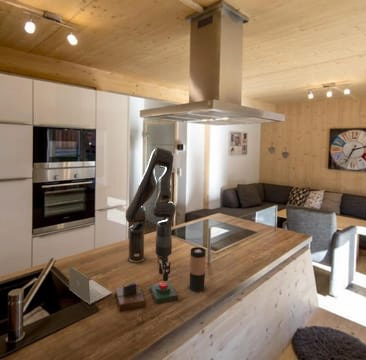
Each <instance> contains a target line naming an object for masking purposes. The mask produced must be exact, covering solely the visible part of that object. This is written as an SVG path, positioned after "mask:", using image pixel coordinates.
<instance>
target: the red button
mask: <svg viewBox="0 0 366 360" xmlns="http://www.w3.org/2000/svg"><path fill="white" fill-rule="evenodd" d="M167 283H168V282H166V281H161V282H160V283H159V284H160V289H166V288H167Z"/></svg>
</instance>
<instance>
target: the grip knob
mask: <svg viewBox="0 0 366 360" xmlns="http://www.w3.org/2000/svg"><path fill="white" fill-rule="evenodd" d="M137 285H138V284H137V283H136V282H131V283H128V284H124V285H122V287H123V295H124V297H125V296H128V295H131V294H135V293H137Z"/></svg>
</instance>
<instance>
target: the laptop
mask: <svg viewBox="0 0 366 360" xmlns="http://www.w3.org/2000/svg"><path fill="white" fill-rule="evenodd" d="M68 287H69V288H68V289H69V291H70V292H72V293H73V294H75V295H76V296H77V297H79V298H80V299H81V300H83V302H85V303H87V304H88V305H92V304H95V303H96V302H98V301H100V300H102V299H104V298H106V297H108V296H110V295H112V294H113V292H112V291H111V290H109V289H107V288H105V286H103V285H101V284H99V283H98V282H96V281H95V280H93V279H90V277H88V276H87V275H86V274H83V273H82V272H81V271H79V270H77V269H76V268H74V267H73V266H71V265H68Z"/></svg>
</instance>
